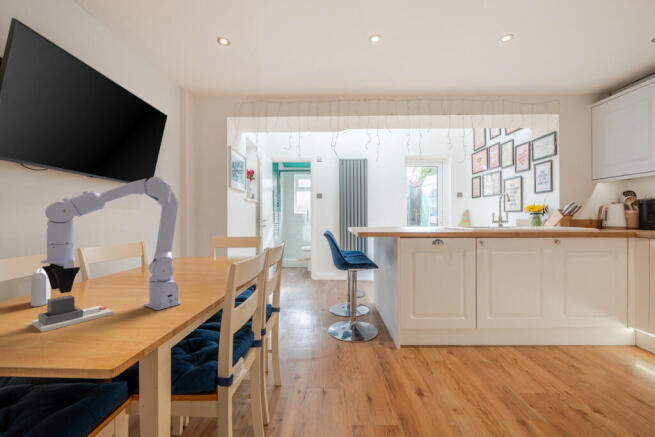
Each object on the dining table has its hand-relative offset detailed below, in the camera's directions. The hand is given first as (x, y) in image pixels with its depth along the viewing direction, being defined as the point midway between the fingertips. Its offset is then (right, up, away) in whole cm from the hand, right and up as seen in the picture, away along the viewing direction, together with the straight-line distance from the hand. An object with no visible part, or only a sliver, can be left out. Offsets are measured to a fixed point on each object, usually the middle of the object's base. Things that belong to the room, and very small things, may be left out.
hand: (61, 290), depth 80 cm
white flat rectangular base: (+2, -9, +3) cm, 10 cm away
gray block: (0, -8, 0) cm, 8 cm away
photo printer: (-24, -9, +18) cm, 32 cm away
